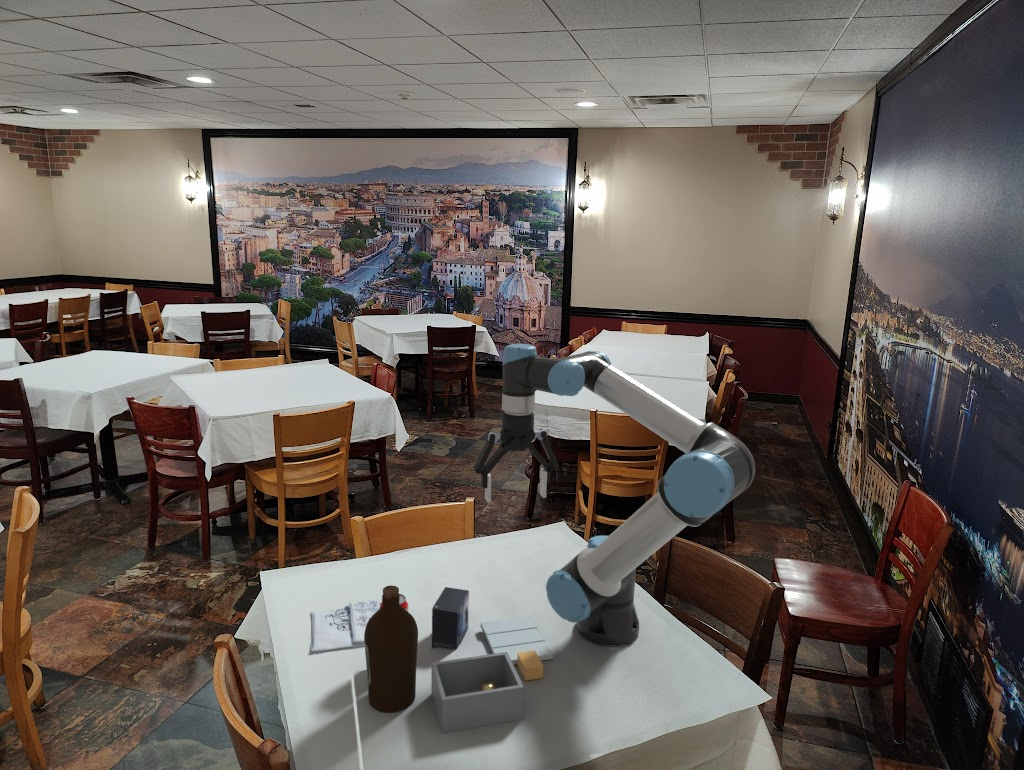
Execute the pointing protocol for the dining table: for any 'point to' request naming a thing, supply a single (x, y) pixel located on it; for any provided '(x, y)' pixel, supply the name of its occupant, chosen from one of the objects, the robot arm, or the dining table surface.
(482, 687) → the part
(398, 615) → the brown tall rounded piece
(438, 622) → the small box
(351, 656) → the dining table surface
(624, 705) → the dining table surface
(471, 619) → the dining table surface
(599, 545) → the robot arm
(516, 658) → the lid
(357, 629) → the white printed cloths
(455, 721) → the tub
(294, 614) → the dining table surface
